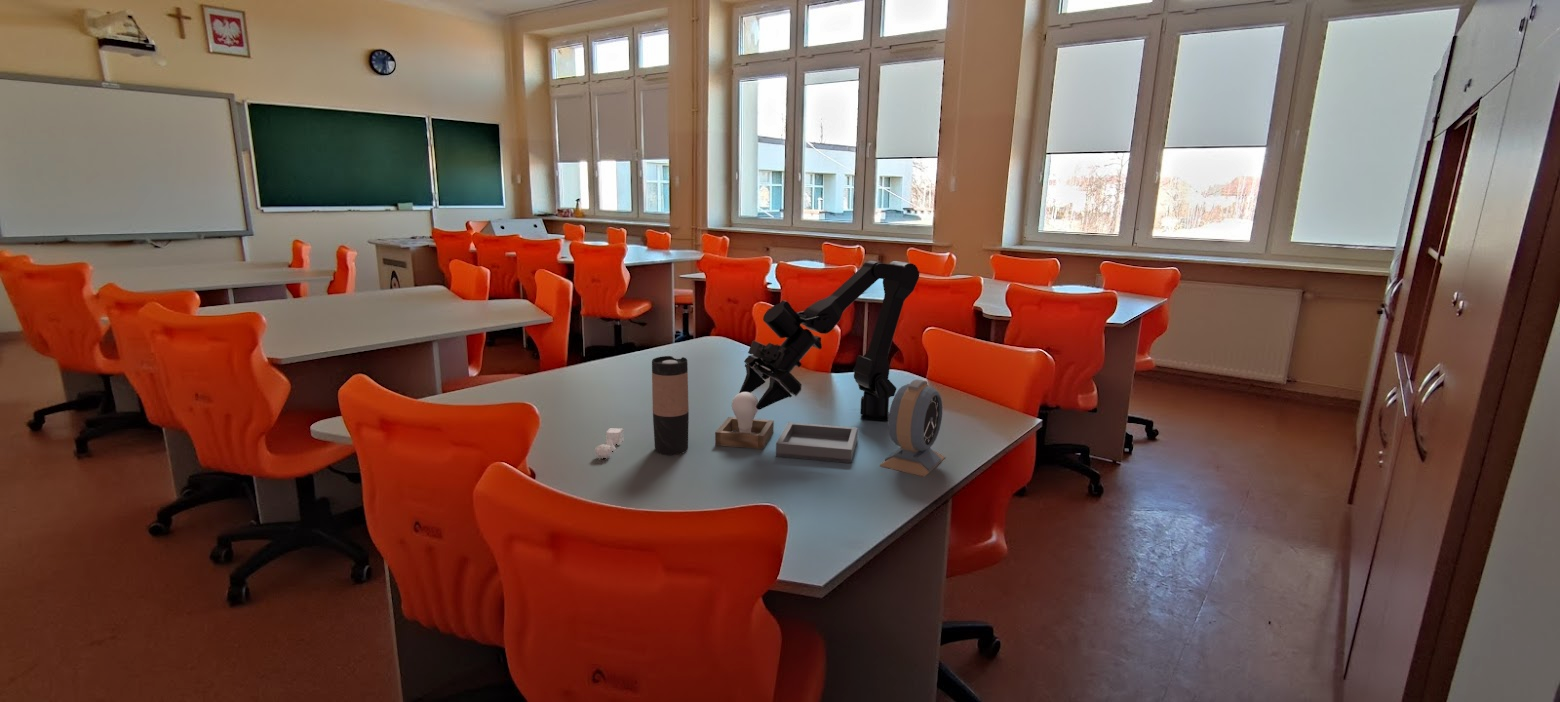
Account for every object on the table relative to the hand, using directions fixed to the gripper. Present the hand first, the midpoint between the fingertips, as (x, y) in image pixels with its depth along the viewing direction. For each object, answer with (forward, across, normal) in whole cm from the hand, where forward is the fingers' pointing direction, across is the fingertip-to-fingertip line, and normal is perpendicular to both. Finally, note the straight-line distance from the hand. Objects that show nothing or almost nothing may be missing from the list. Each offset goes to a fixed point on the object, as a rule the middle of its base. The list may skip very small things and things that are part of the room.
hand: (748, 402), depth 158 cm
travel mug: (+19, -1, -6) cm, 20 cm away
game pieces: (+28, -6, -15) cm, 32 cm away
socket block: (+6, 0, +6) cm, 8 cm away
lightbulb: (+7, 0, +6) cm, 9 cm away
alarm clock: (-12, +28, +24) cm, 39 cm away
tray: (-2, +12, +14) cm, 19 cm away
